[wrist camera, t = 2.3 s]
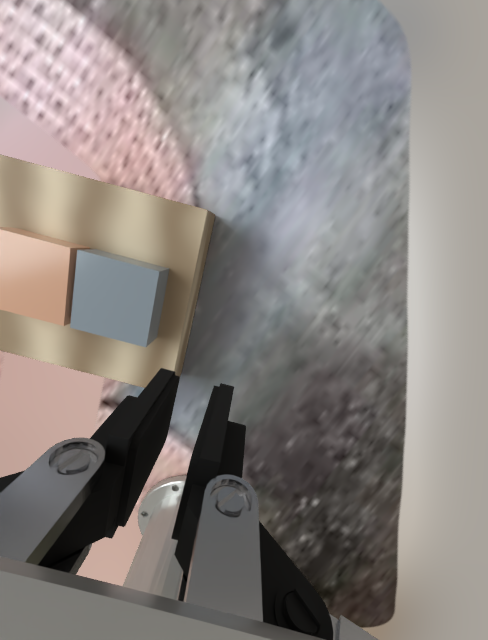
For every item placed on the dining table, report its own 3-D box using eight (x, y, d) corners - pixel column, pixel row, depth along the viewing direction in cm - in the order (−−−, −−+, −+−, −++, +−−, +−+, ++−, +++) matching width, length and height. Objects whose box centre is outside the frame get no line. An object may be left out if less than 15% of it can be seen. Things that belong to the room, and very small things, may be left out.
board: (215, 215, 25) (207, 209, 21) (181, 374, 29) (169, 394, 26) (38, 167, 25) (-2, 154, 21) (29, 335, 29) (-6, 349, 25)
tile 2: (89, 247, 23) (70, 247, 20) (82, 318, 24) (63, 325, 22) (15, 227, 22) (-13, 226, 20) (13, 300, 24) (-13, 306, 22)
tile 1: (169, 268, 23) (159, 271, 20) (156, 337, 24) (146, 347, 22) (96, 249, 23) (77, 249, 20) (88, 319, 24) (69, 327, 22)
